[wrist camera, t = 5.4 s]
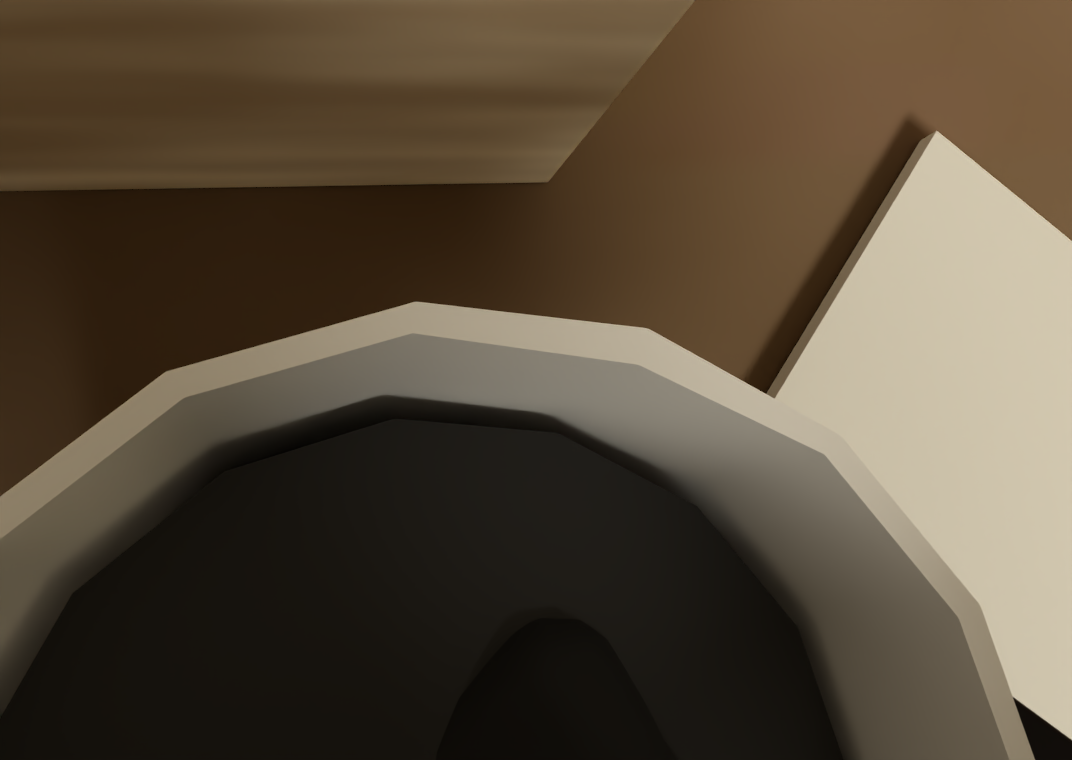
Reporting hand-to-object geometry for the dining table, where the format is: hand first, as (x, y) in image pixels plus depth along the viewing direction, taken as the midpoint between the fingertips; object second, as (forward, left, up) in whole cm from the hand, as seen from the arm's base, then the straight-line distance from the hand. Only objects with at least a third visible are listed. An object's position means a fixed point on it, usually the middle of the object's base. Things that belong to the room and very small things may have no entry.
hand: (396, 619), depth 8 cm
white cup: (-1, -1, -7) cm, 7 cm away
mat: (+8, -9, -7) cm, 14 cm away
